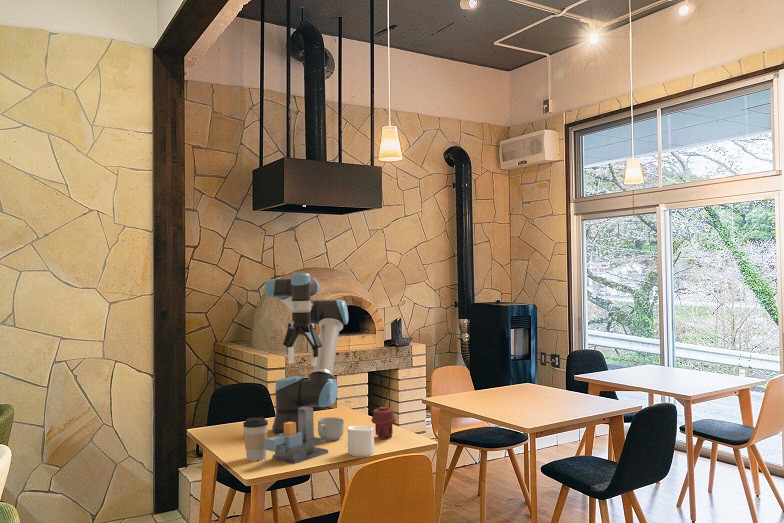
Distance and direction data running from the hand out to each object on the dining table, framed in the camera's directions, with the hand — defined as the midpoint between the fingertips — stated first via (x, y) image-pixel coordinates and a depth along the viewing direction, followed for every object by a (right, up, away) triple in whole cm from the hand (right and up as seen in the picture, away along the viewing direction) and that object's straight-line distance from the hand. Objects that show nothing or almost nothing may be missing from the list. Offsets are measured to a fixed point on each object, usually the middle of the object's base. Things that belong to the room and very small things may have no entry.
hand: (302, 364), depth 257 cm
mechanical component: (+33, -31, +5) cm, 46 cm away
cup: (+25, -31, -18) cm, 43 cm away
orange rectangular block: (-1, -30, -22) cm, 37 cm away
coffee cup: (-14, -32, -21) cm, 41 cm away
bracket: (-3, -28, -25) cm, 38 cm away
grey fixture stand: (+2, -31, -18) cm, 36 cm away
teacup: (+10, -32, +4) cm, 34 cm away
